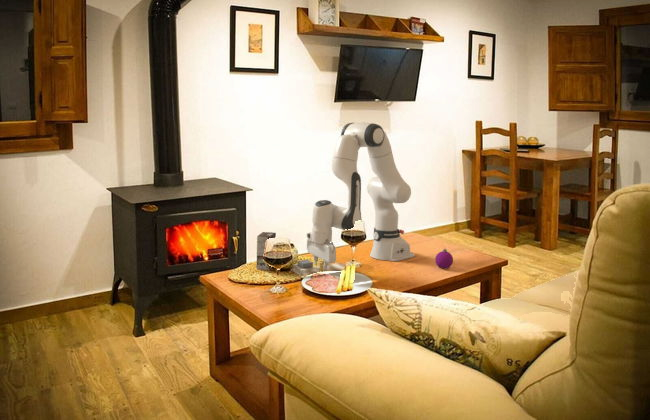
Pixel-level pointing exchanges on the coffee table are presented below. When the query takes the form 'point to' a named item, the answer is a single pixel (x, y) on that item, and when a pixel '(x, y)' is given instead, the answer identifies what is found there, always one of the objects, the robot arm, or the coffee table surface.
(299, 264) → the cord block
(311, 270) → the lane shelf
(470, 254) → the coffee table surface
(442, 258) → the christmas ornament
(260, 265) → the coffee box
